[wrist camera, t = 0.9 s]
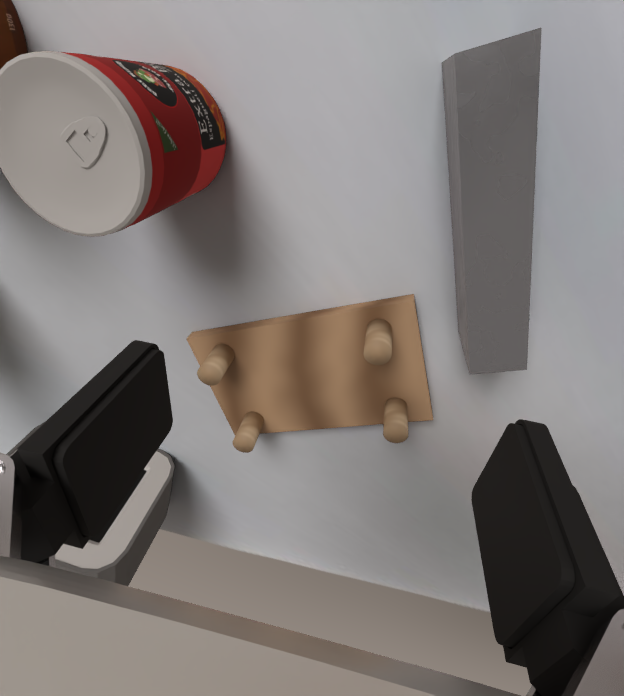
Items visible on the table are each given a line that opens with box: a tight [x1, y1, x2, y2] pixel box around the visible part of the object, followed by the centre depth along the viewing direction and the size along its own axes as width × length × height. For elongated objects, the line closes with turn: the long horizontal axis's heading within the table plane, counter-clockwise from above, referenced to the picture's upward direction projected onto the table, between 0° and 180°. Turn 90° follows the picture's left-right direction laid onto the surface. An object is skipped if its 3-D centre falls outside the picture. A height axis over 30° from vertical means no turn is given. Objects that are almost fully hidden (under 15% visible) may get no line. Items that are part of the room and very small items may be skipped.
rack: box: [187, 294, 433, 452], centre depth 34 cm, size 20×12×5 cm, turn 106°
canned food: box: [0, 51, 226, 237], centre depth 22 cm, size 8×8×11 cm
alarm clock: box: [6, 422, 175, 586], centre depth 43 cm, size 16×11×16 cm
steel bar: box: [442, 28, 541, 374], centre depth 24 cm, size 18×4×6 cm, turn 14°
